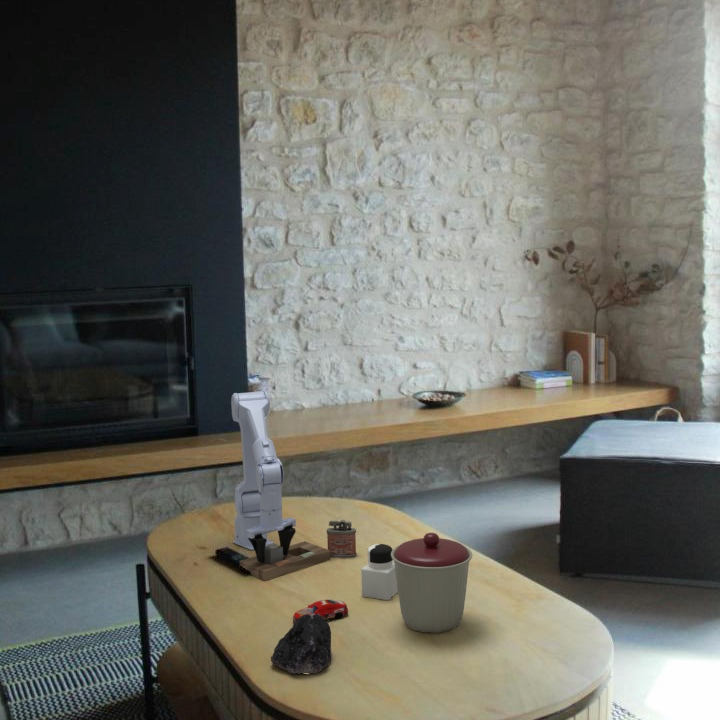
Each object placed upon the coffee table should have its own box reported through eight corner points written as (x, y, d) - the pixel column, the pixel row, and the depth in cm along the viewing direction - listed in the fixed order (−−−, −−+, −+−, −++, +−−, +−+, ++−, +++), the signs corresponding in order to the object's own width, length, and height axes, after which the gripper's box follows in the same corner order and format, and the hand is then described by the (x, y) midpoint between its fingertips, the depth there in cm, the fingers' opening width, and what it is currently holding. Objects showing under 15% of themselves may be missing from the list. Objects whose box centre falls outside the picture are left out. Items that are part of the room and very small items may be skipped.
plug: (262, 569, 250) (261, 545, 249) (274, 565, 253) (273, 542, 252) (271, 572, 247) (270, 549, 246) (283, 568, 250) (282, 545, 249)
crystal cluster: (282, 685, 188) (285, 639, 186) (260, 653, 200) (263, 609, 198) (343, 676, 193) (348, 631, 192) (319, 645, 205) (323, 602, 204)
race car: (298, 630, 212) (297, 613, 212) (289, 621, 217) (288, 605, 217) (351, 618, 218) (350, 601, 218) (341, 610, 223) (340, 593, 222)
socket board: (239, 570, 250) (239, 559, 249) (305, 549, 264) (304, 540, 264) (265, 581, 242) (264, 570, 241) (330, 559, 256) (330, 549, 256)
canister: (379, 616, 218) (377, 527, 215) (448, 602, 225) (447, 516, 222) (414, 647, 202) (412, 551, 199) (487, 631, 209) (487, 539, 206)
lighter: (357, 554, 260) (356, 518, 259) (356, 558, 257) (355, 522, 255) (328, 553, 261) (327, 518, 259) (326, 557, 258) (325, 522, 256)
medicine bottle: (399, 590, 233) (399, 543, 232) (388, 601, 227) (387, 552, 225) (373, 586, 236) (372, 540, 235) (361, 596, 230) (360, 549, 228)
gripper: (257, 517, 240) (259, 569, 242) (302, 505, 250) (303, 555, 252) (241, 511, 245) (243, 562, 247) (285, 500, 255) (287, 548, 257)
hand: (272, 558), depth 250 cm, fingers open, 7 cm apart
